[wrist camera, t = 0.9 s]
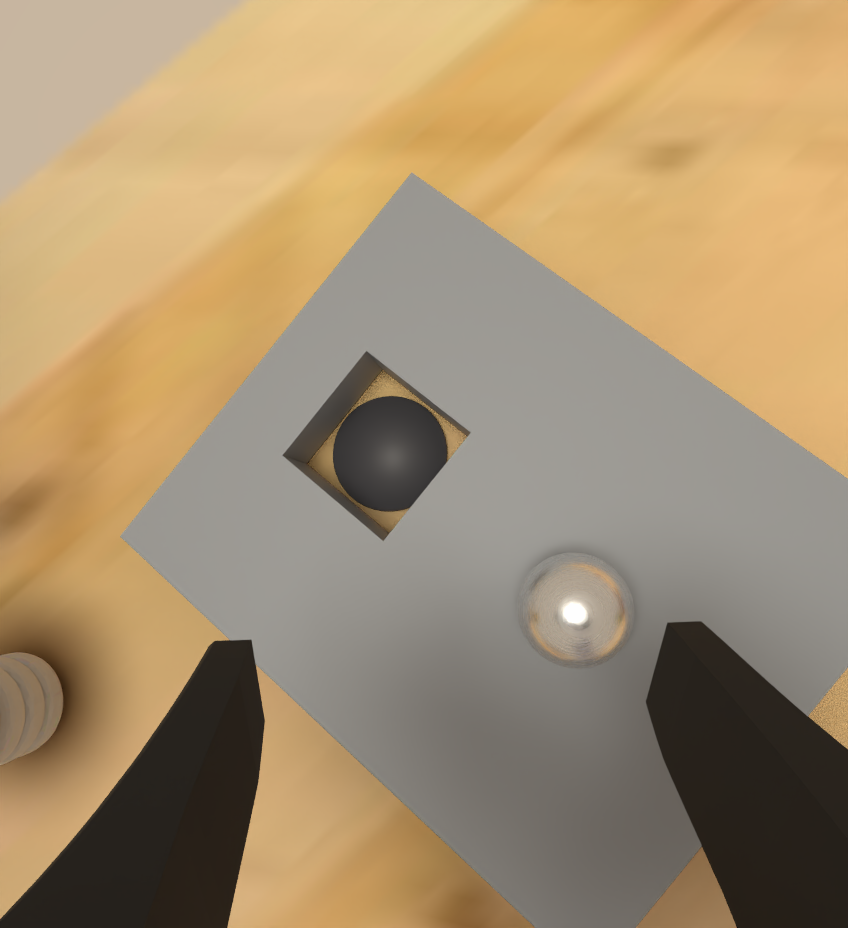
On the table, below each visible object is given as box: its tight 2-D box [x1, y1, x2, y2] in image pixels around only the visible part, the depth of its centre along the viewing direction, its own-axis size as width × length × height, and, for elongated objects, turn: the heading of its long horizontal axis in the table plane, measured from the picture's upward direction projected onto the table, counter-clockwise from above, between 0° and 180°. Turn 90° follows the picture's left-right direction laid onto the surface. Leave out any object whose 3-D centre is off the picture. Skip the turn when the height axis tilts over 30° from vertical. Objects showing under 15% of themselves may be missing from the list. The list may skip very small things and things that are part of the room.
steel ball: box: [517, 553, 634, 669], centre depth 19 cm, size 3×3×3 cm
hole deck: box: [120, 173, 848, 928], centre depth 22 cm, size 20×16×2 cm
